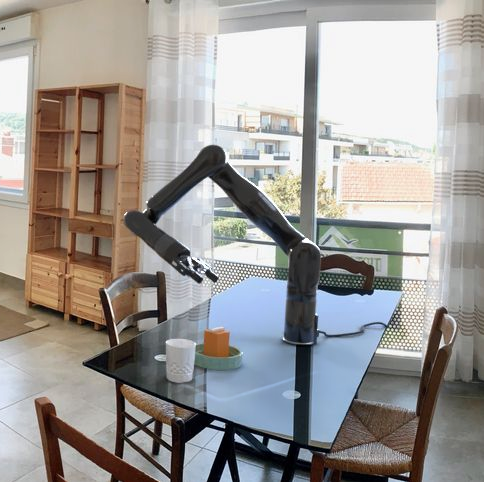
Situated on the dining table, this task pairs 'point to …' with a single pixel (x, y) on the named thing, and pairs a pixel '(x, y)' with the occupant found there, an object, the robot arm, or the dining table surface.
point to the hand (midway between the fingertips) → (209, 280)
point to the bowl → (218, 359)
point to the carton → (216, 342)
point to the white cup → (180, 360)
